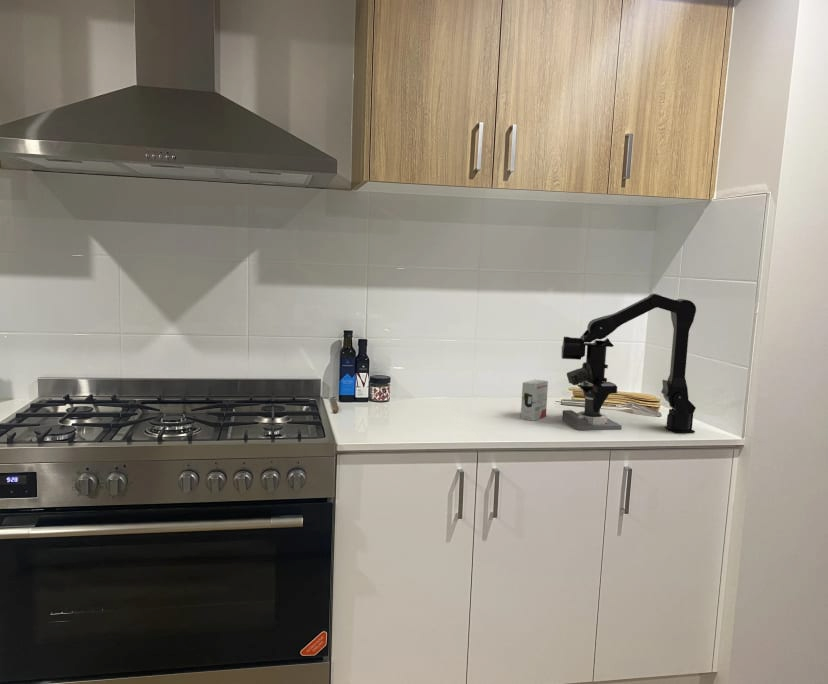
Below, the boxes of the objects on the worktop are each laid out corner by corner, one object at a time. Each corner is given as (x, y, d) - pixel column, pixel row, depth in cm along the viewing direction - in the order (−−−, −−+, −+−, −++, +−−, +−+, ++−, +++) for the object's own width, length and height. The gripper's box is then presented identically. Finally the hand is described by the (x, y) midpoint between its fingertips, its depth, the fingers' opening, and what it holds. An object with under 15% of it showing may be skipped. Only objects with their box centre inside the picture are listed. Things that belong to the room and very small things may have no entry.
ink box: (533, 414, 218) (535, 378, 217) (546, 416, 215) (549, 380, 214) (519, 418, 212) (521, 381, 210) (533, 421, 209) (535, 384, 207)
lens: (595, 413, 209) (597, 390, 208) (602, 417, 204) (604, 394, 203) (581, 413, 208) (582, 391, 207) (588, 417, 203) (589, 394, 203)
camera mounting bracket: (603, 419, 214) (604, 408, 213) (621, 429, 202) (622, 417, 202) (562, 420, 211) (562, 408, 211) (578, 430, 199) (578, 417, 199)
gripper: (558, 355, 212) (555, 404, 214) (584, 365, 193) (580, 418, 195) (591, 355, 214) (588, 403, 216) (619, 365, 195) (616, 417, 197)
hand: (592, 410), depth 206 cm, fingers closed on lens, 5 cm apart
